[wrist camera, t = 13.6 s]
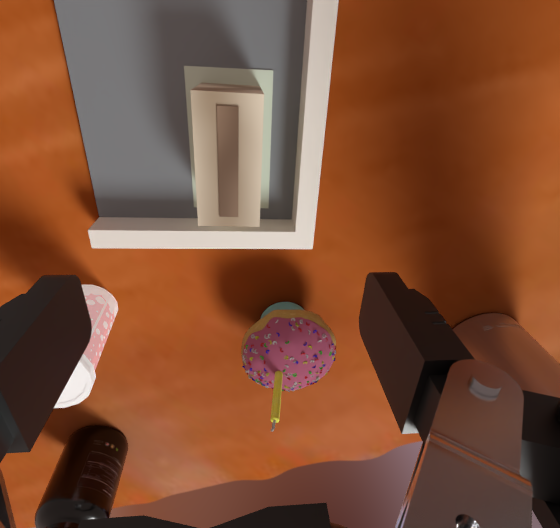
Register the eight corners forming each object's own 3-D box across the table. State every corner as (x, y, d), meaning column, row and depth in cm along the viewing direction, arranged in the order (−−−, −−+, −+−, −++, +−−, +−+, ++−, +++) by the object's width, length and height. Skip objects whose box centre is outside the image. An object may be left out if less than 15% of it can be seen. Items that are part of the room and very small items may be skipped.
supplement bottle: (106, 466, 46) (66, 586, 35) (56, 443, 43) (-3, 567, 33) (142, 440, 44) (111, 560, 34) (93, 414, 41) (42, 536, 31)
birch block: (260, 85, 25) (264, 94, 20) (256, 196, 29) (259, 227, 24) (201, 82, 25) (190, 90, 20) (206, 194, 29) (198, 226, 24)
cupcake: (256, 360, 39) (261, 470, 29) (228, 298, 35) (222, 402, 24) (334, 337, 38) (367, 442, 28) (315, 272, 34) (346, 367, 24)
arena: (307, 233, 32) (312, 248, 29) (104, 231, 30) (92, 248, 28) (329, -6, 24) (340, -13, 21) (51, -27, 22) (26, -37, 19)
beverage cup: (40, 296, 33) (-78, 436, 21) (94, 265, 32) (3, 395, 20) (89, 340, 36) (11, 485, 24) (140, 313, 35) (85, 452, 23)
